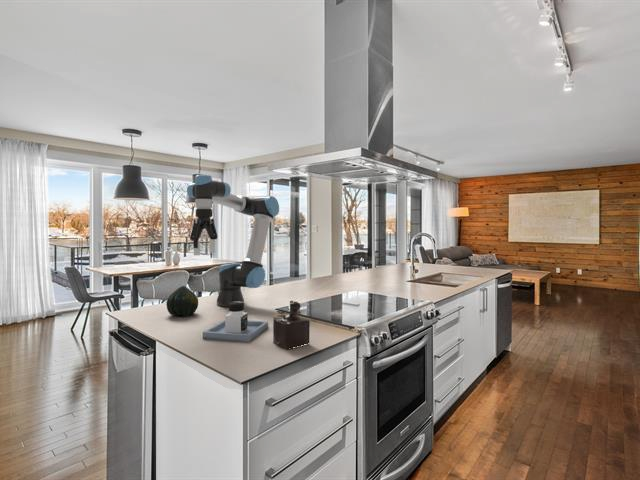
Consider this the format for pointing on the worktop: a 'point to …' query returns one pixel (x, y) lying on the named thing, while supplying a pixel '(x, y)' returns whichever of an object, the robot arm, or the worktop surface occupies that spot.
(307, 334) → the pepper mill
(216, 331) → the tray
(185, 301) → the squash
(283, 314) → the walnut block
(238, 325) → the medicine bottle
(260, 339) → the worktop surface
